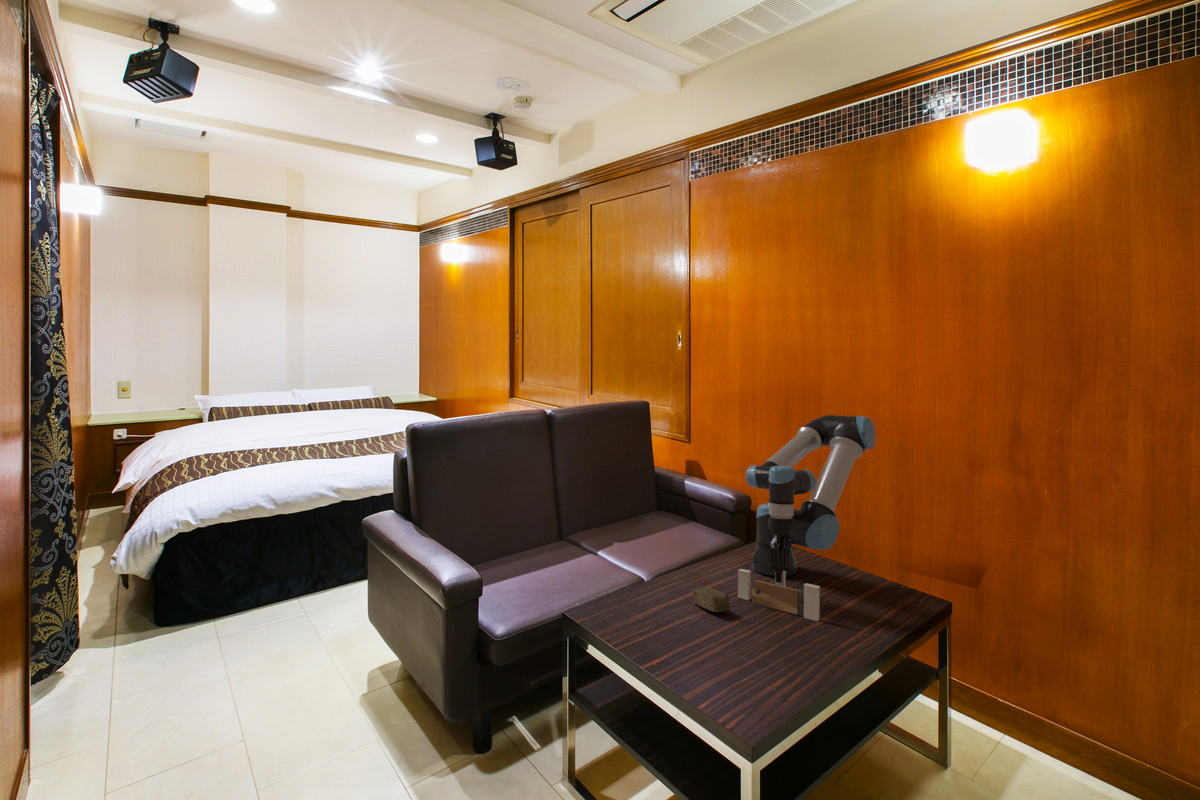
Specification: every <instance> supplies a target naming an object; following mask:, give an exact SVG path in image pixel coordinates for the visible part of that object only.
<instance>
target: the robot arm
mask: <svg viewBox="0 0 1200 800" xmlns="http://www.w3.org/2000/svg"><path fill="white" fill-rule="evenodd" d="M875 444H876V429H875V425H874V422H873V421H872V419H871V418H870V417H868V416H863V415H862V416H861V415H856V416H855V415H835V414H834V415H833V414H828V415H822V416H819V417H816V418H814V419H812V420H810V421H809V422H807V423H805V424H803V426H801V427H800V428H799V429H798V430H797V432H796V435H794V437H793V438H791V439H790V441H788V442H787V443H786V444H784V445H783V446H782V447H781V448H779V450H777V451H776V452H775V453H774V454H772V456H770V457H769V458H768V459H767V460H766V461H764V462H763V463H762V464H761V465H757V464H756V465H749V466H748V467H747V470H746V472H745V481H746V484H747V485H748V486H749V487H751V488H754V489H755V488H756V489H759V490H760V489H761V490H767V491H768V503H762V504H759V506H758V507H757V511H756V548H755V550H754V553H753V557H752V558H751V559H752V560H751V570H752V571H754V572H756V573H759V574H761V575H767V576H774V577H775V579H774V580H775V582H774V584H776V585H780V586H784V587H787V585H786V581H787V580H786V577H787V576H793V575H795V574H797V571H798V568H797V566H798V565H797V562H796V558H795V555H794V552H793V549H792V548H793V547H792V545H796V546H800V547H804V548H809V549H811V550H820V551H825V550H828V549H830V548H831V547H833V546H834V544H835V543H836V541H837V539H838V536H839V533H840V532H839V530H840V522H839V520H838V515H837V513H836V512H835V510H836V508H837V505H838V502H839V500H840V498H841V495H842V493H843V490H844V488H845V485H846V484H847V481H848V478H849V476H850V474H851V472H852V469H853V466H854V463H855V461H856V459H859V458H861V457H862V456H863V454H864V451H865V450H871V449H873V448H874V446H875ZM821 447H830V450H829V454H828V456H827V458H826V461H825V463H824V465H823V467H822V469H821V472H820V473H819V476H818V478H817V479H816V476H815V474H814V473H813V472H812V471H810V470H808V469H795V468H794V467H796V465H797V464H799V462H800V461H802V460H803V459H804V458H805V457H806V456H807V455H808V454H810V453H811V452H812V451H816V450H818V449H819V448H821ZM810 492H811V495H810V497H809V498H808V500H804V501H802V503H801V506H800V508H799V509H798V508H797V509H796V508H795V501H794V500H795V496H797V495H803V494H807V493H810Z"/></svg>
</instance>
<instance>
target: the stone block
mask: <svg viewBox="0 0 1200 800" xmlns="http://www.w3.org/2000/svg"><path fill="white" fill-rule="evenodd" d="M692 601H693V603H694V604H695V605H696V606H699V607H701V608H703V609H705V610H708V611H710V612H713V613H722V612H726V611H729V610H730V598H729V595H728V594H727V593H724V592H722V591H720V590H719V591H718V590H716V589H714V588H711V587H708V586H707V587H706V586H705V587H698V588H694V589H693V597H692Z"/></svg>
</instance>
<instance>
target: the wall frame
mask: <svg viewBox="0 0 1200 800" xmlns="http://www.w3.org/2000/svg"><path fill="white" fill-rule="evenodd" d="M751 574H752V570H749V569H744V568H740V569H738V570H737V597H738V598H739V599H743V600H745V601H750V600H752V579H751ZM820 590H821V586H820V585H816V584H811V583H803V619H806V620H811V621H815V622H819V621H820V604H821V603H820V597H821V596H820V595H821V594H820V593H821V592H820Z"/></svg>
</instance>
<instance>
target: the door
mask: <svg viewBox="0 0 1200 800" xmlns="http://www.w3.org/2000/svg"><path fill="white" fill-rule="evenodd" d="M751 602H752V603H755V604H759V605H761V606H765V607H768V608H770V609H774V610H777V611H780V612H781V611H782V612H785V613H789V614H793V615H796V616H797V615H798V616H799V617H804V589H797V588H792V587H788V586H786V587H784V586H780V585H776V584H775V583H771V582H766V581H762V580H759V579H754V578H753V579H751Z"/></svg>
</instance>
